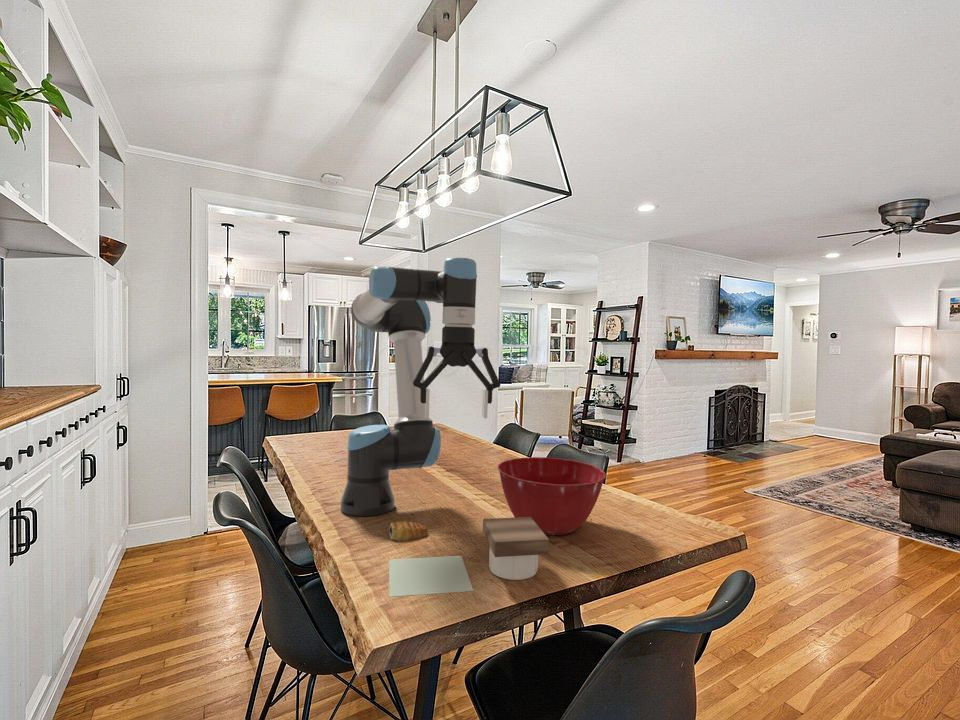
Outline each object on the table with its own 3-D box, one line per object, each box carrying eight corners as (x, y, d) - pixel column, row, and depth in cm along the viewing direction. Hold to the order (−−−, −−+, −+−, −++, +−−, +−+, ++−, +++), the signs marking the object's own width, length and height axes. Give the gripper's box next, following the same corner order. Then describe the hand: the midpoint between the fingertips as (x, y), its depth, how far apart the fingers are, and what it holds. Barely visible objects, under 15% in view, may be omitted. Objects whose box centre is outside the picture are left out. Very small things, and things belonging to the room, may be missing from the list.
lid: (482, 532, 111) (483, 518, 111) (530, 529, 113) (530, 516, 113) (495, 557, 98) (495, 542, 98) (548, 554, 100) (548, 539, 100)
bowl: (485, 561, 110) (486, 534, 109) (529, 558, 111) (530, 532, 111) (495, 583, 100) (495, 553, 100) (543, 580, 102) (543, 551, 101)
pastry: (423, 530, 128) (424, 515, 128) (429, 540, 121) (430, 524, 121) (387, 533, 125) (387, 519, 124) (391, 544, 118) (391, 528, 118)
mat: (389, 561, 109) (389, 559, 109) (461, 556, 112) (461, 555, 112) (389, 598, 93) (389, 596, 93) (473, 592, 96) (473, 590, 96)
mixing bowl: (580, 506, 149) (581, 455, 148) (623, 545, 120) (625, 482, 120) (487, 509, 144) (488, 456, 143) (509, 550, 116) (511, 485, 115)
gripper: (404, 324, 108) (402, 420, 110) (515, 327, 113) (511, 420, 114) (403, 324, 116) (401, 414, 117) (507, 328, 121) (504, 414, 122)
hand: (455, 417), depth 116 cm, fingers open, 13 cm apart
